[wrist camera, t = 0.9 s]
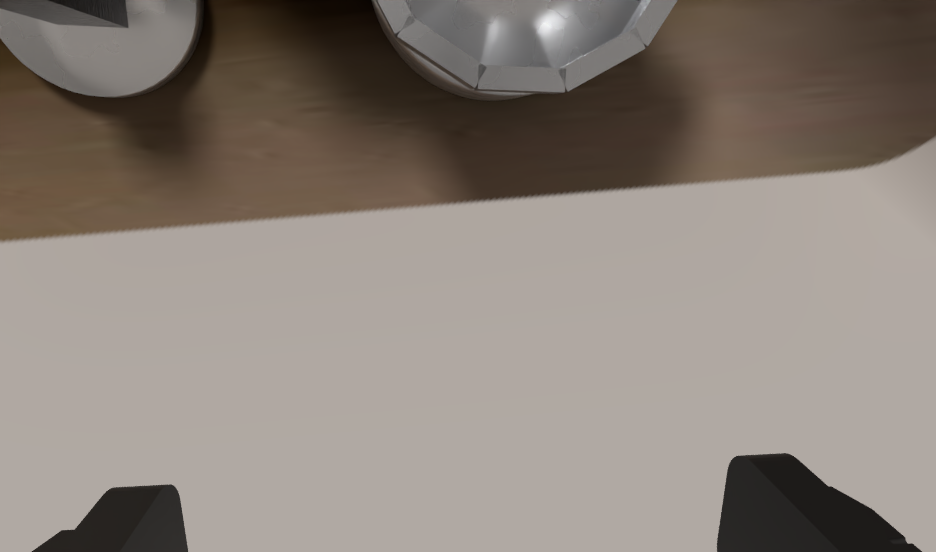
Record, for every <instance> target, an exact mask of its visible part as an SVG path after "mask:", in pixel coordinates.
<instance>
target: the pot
mask: <svg viewBox="0 0 936 552" xmlns="http://www.w3.org/2000/svg"><path fill="white" fill-rule="evenodd" d="M371 1H372V4H373V7H374V11H375V14H376V17H377V19H378V21H379V23H380V25H381V28H382V30H383V32H384V34H385V35H386V37H387V39H388V40H389V42H390V43H391V45H392V47H393V48H394V49H395V51H396V52H397V53H398V54H399V56H400V57H401V58H402V59H403V61H404V62H405V63H406V64H408V65H409V66H410V67H411V68H412V69H413V70H414V71H415V72H416V73H417V74H419V75H420V76H421V77H422V78H424V79H425V80H426V81H428V82H429V83H431V84H433V85H435V86H436V87H438V88H440V89H442V90H444V91H447V92H449V93H452V94H454V95H457V96H460V97H464V98H468V99H473V100H482V101H503V100H509V99H515V98H520V97H524V96H528V95H532V94H536V93H539V94H560V93H564V92H568V91H570V90H572V89H573V88H575V87H577V86H579V85H581V84H583V83H584V82H586V81H588V80H590V79H592V78H593V77H595V76H597V75H599V74H601V73H602V72H604V71H606V70H608V69H610V68H611V67H613V66H615V65H617V64H619V63H620V62H622V61H624V60H626V59H628V58H629V57H631V56H633V55H635V54H637V53H638V52H640V51H642V50H644V49H645V47H647V46H648V45H649V44H650V42H651V41H652V39H653V38H654V36H655V34H656V33H657V31H658V30H659V28H660V27H661V25H662V23H663V22H664V20H665V19H666V17H667V16H668V14H669V13H670V11H671V9H672V8H673V6H674V5H675V3H676V2H677V0H371Z"/></svg>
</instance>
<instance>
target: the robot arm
mask: <svg viewBox="0 0 936 552" xmlns="http://www.w3.org/2000/svg"><path fill="white" fill-rule="evenodd" d="M32 552H188V548H187V541H186V534H185V528H184V521H183V515H182V508H181V503H180V497H179V493H178V491H177V489H176V488H175V487H174V486H173V485H156V486H155V485H153V486H135V487H116V488H111V489H109V490H108V491H107V492H106V493H105V494H104V495H103V496H102V497H101V498H100V499H99V501H98V502H97V503H96V504H95V506H94V507H93V508H92V509H91V511H90V512H89V513H88V514H87V515H86V517H85V518H84V519H83V520H82V521H81V523H80V524H79V525H78V526H77V528H76V529H75V530H62V531H60V532H59V533H57V534H56V535H55V536H53V537H52V538H50V539H49V540H48V541H46V542H45V543H43V544H42V545H41V546H39V547H38V548H36V549H35V550H34V551H32ZM717 552H922V551H921V550H919V549H918V548H917V547H916V546H914V544H908V543H907V542H906V540H905V537H904V536H903V535H902V534H900V533H899V532H898V531H897V530H896V529H895V528H894V527H892V526H891V525H890V524H889V523H888V522H886V521H885V520H884V519H883V518H882V517H881V516H879V515H878V514H877V513H876V512H875V511H874V510H872V509H871V508H869V507H867V506H865V505H864V504H862V503H860V502H858V501H856V500H854V499H853V498H851V497H849V496H847V495H846V494H844V493H842V492H840V491H838V490H837V489H835V488H833V487H828V486H827V485H826V484H825V483H824V482H823V481H821V480H820V479H819V478H818V477H817V476H816V475H815V474H814V473H812V472H811V471H810V470H809V469H808V468H807V467H806V466H805V465H803V464H802V463H801V462H800V461H799V460H798V459H796V458H795V457H794V456H792V455H790V454H786V453H783V454H764V455H745V456H736V457H734V458H733V459H732V460H731V462H730V464H729V467H728V472H727V478H726V485H725V492H724V499H723V505H722V512H721V519H720V526H719V533H718V541H717Z"/></svg>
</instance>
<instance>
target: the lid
mask: <svg viewBox="0 0 936 552" xmlns="http://www.w3.org/2000/svg"><path fill="white" fill-rule="evenodd" d="M203 18H204V0H0V38H1V40H2V41H3V42H4V43H5V45H6V46H7V47H8V48H9V50H10V51H11V52H12V53H13V54H14V55H15V56H16V57H17V58H18V59H19V60H20V61H21V62H22V63H23V64H24V65H26V66H27V67H28V68H29V69H31V70H32V71H33V72H34V73H36V74H37V75H39V76H41V77H42V78H44V79H45V80H47V81H49V82H51V83H53V84H55V85H57V86H59V87H61V88H64V89H67V90H70V91H72V92H76V93H80V94H84V95H89V96H99V97H110V98H125V97H132V96H138V95H142V94H145V93H148V92H151V91H153V90H155V89H158V88H160V87H162V86H163V85H165V84H166V83H168V82H169V81H171V80H172V79H173V78H174V77H175V76H176V75H177V74H179V73H180V72H181V71H182V69H183V68H184V67H185V66H186V64H187V63H188V62H189V60H190V58H191V57H192V55H193V53H194V51H195V49H196V47H197V44H198V42H199V39H200V35H201V31H202V27H203Z"/></svg>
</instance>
